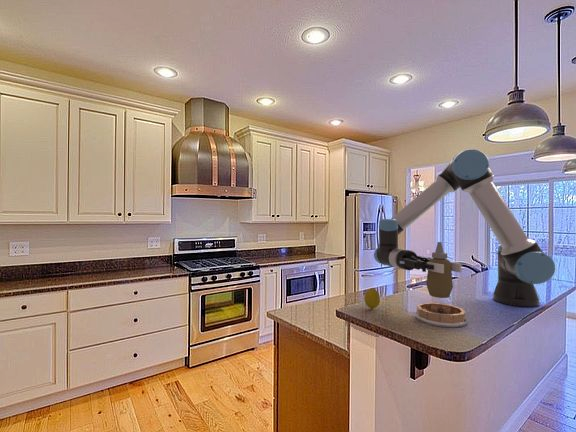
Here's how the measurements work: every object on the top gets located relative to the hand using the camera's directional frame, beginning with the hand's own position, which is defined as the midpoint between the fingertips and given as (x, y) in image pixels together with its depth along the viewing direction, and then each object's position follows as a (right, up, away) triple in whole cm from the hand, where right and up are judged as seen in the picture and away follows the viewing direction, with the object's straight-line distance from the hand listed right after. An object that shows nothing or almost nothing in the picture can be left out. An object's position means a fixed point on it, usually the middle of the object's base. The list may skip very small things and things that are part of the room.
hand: (451, 268), depth 98 cm
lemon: (-21, -18, +16) cm, 32 cm away
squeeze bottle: (-2, -10, +5) cm, 11 cm away
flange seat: (-1, -18, +5) cm, 18 cm away
